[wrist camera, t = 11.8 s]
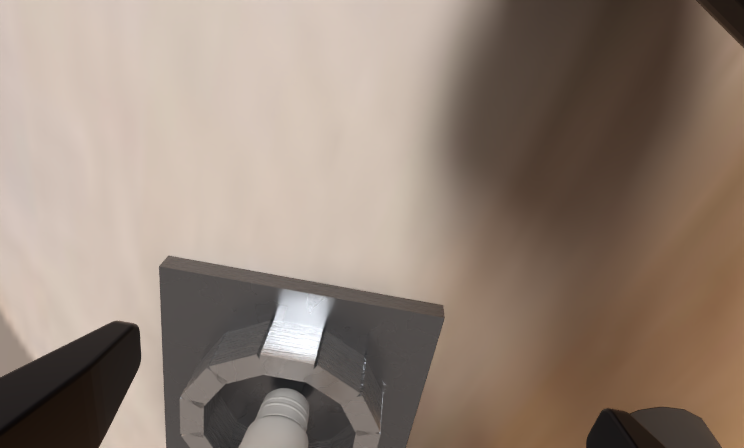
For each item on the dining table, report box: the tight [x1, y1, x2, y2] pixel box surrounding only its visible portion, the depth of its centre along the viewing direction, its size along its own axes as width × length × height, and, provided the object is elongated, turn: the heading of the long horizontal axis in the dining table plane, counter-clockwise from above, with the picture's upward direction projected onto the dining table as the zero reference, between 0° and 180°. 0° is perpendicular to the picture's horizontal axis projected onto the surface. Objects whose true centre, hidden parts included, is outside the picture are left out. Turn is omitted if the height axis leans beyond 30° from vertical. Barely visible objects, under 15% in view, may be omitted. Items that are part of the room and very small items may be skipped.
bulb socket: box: [159, 256, 444, 448], centre depth 25 cm, size 14×14×4 cm
